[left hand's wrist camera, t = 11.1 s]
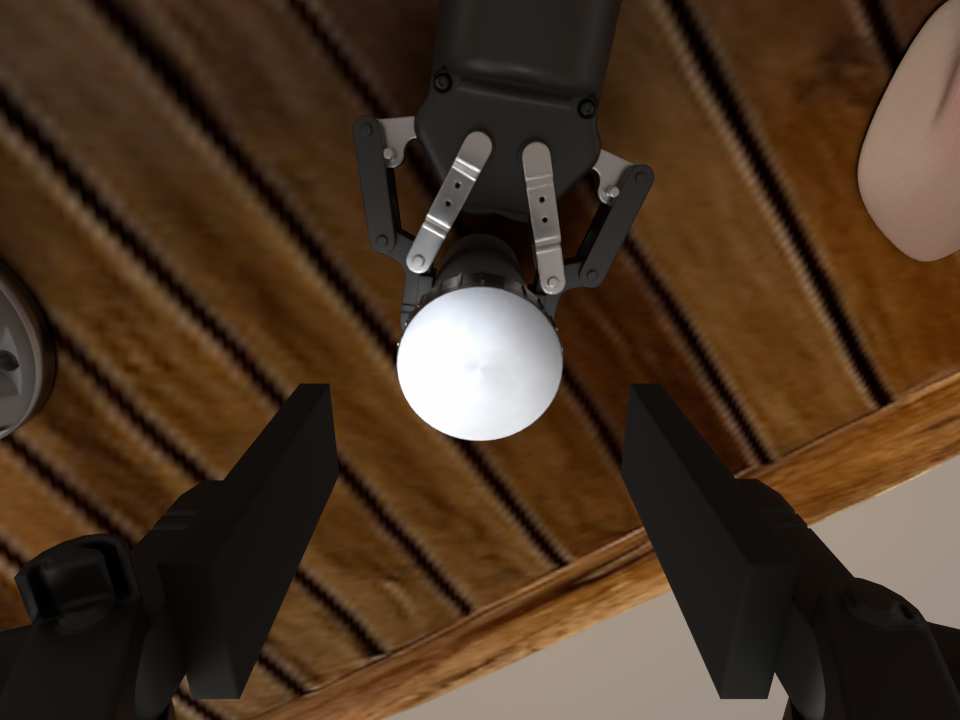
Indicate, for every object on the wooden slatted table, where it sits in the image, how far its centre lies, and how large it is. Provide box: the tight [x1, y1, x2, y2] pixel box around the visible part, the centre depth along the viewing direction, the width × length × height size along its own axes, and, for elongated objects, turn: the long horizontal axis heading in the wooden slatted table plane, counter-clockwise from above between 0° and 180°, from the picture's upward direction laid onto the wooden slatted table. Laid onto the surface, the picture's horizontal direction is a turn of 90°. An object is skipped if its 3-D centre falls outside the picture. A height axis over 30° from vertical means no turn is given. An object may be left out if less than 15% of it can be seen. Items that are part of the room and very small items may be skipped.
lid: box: [396, 271, 563, 441], centre depth 19 cm, size 6×6×2 cm
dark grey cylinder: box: [433, 233, 527, 288], centre depth 26 cm, size 5×5×16 cm
